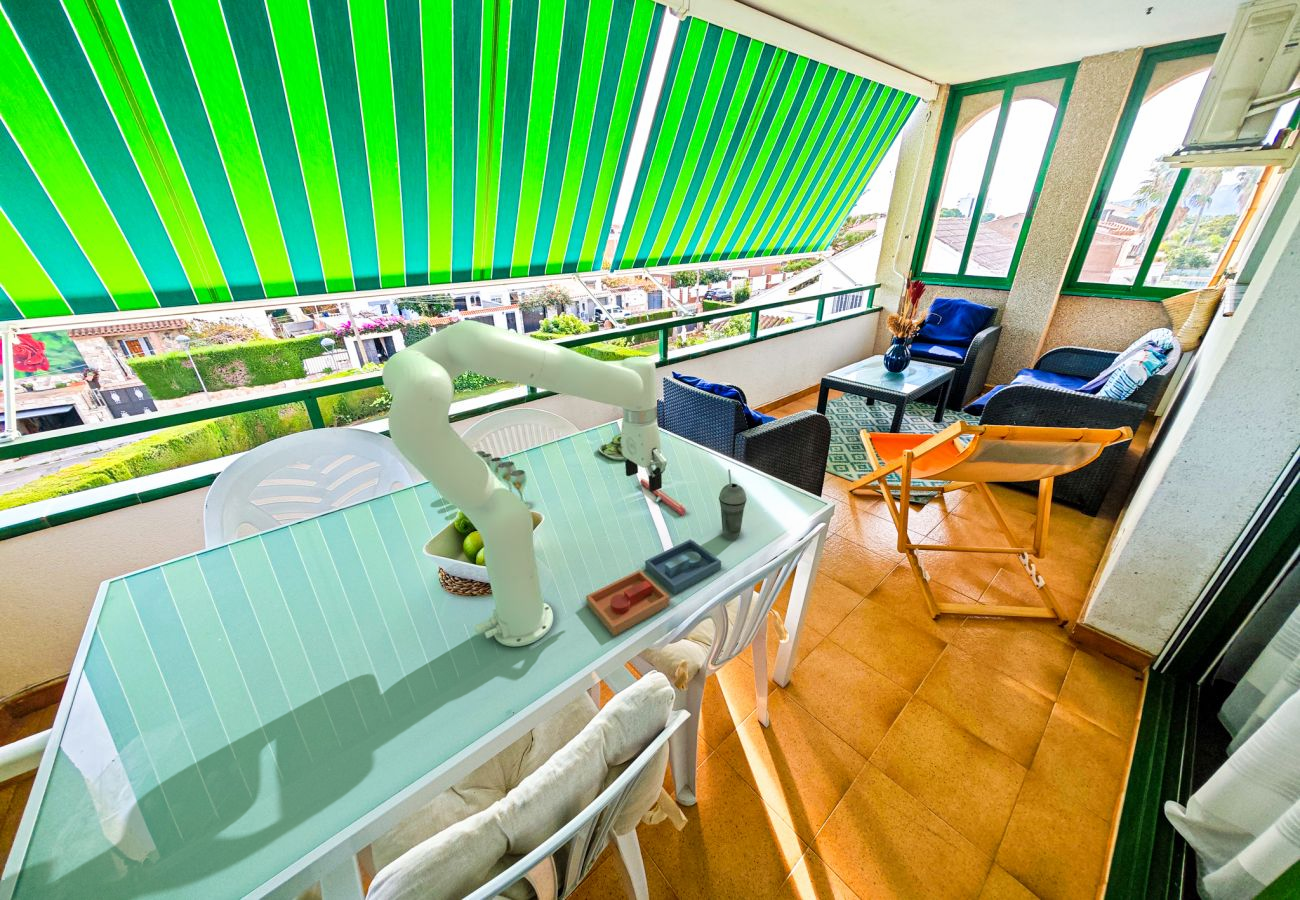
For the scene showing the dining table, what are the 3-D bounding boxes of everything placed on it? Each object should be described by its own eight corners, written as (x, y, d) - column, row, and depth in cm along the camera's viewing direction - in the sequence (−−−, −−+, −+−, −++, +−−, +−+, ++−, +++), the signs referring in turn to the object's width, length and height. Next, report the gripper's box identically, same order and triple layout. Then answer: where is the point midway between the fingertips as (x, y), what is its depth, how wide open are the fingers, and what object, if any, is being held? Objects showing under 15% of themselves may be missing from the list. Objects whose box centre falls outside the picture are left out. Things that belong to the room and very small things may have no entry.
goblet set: (535, 505, 144) (529, 467, 138) (520, 513, 140) (512, 474, 135) (487, 480, 161) (480, 445, 156) (472, 486, 157) (464, 451, 152)
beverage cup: (744, 543, 122) (748, 477, 113) (716, 541, 123) (718, 475, 115) (744, 528, 128) (748, 464, 120) (718, 526, 130) (720, 462, 121)
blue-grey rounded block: (673, 580, 109) (673, 570, 108) (662, 570, 112) (661, 561, 111) (704, 563, 114) (704, 554, 113) (693, 555, 117) (692, 546, 116)
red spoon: (643, 587, 107) (643, 577, 106) (654, 597, 104) (654, 587, 103) (607, 605, 102) (606, 596, 101) (617, 617, 99) (616, 607, 97)
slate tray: (674, 594, 105) (674, 586, 104) (645, 568, 114) (645, 560, 113) (720, 569, 113) (721, 560, 112) (690, 546, 121) (690, 539, 120)
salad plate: (658, 454, 176) (658, 443, 174) (619, 467, 166) (618, 455, 164) (630, 439, 190) (630, 428, 188) (593, 450, 181) (592, 439, 179)
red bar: (677, 519, 135) (689, 510, 136) (675, 514, 134) (687, 505, 135) (636, 487, 154) (647, 480, 155) (634, 482, 153) (645, 475, 154)
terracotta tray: (613, 636, 95) (612, 627, 94) (587, 604, 103) (586, 595, 102) (669, 605, 102) (669, 596, 101) (640, 577, 111) (639, 569, 110)
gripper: (605, 407, 106) (611, 473, 113) (648, 428, 93) (651, 501, 100) (632, 401, 110) (636, 465, 117) (677, 420, 97) (678, 490, 104)
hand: (643, 481), depth 108 cm, fingers open, 9 cm apart
